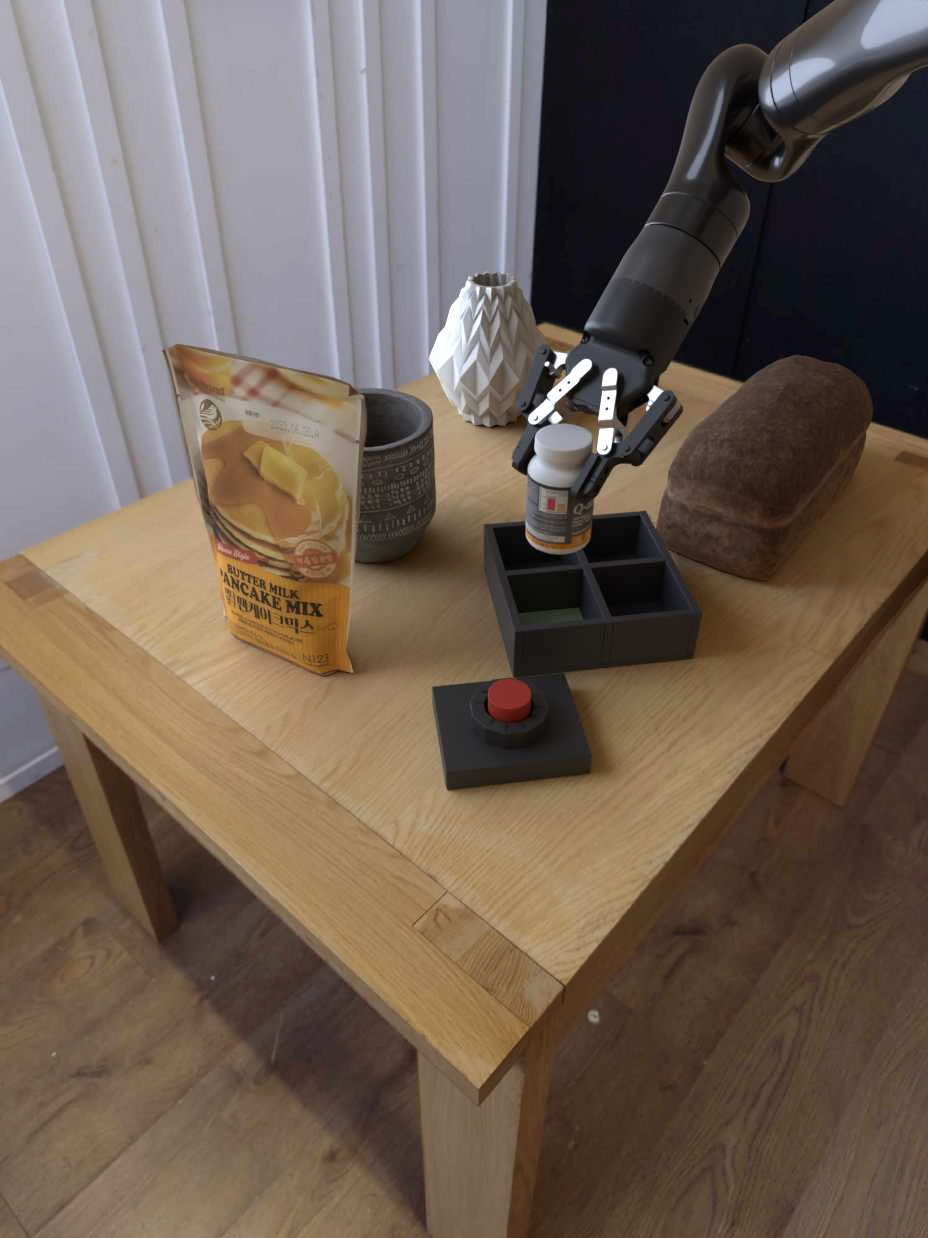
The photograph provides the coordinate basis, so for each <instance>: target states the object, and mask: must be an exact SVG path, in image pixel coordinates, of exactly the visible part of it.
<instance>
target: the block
mask: <svg viewBox="0 0 928 1238" xmlns="http://www.w3.org/2000/svg"><path fill="white" fill-rule="evenodd" d="M503 679H515V680H519V681H521V682H523V683H525V684H526V685H527V686H528V687H529V688H530V690H531V710H530V714H529V715H528V717H527V718H526V719H524V720H523V721H521V722H515V723H504V722H500V721H497V720H495V719H494V718H493V717H492V716H491V715H490V714H489V712H488V690H489V688H490V687H491V686H492V684H494V683H495V682H497V681H499V680H503ZM431 698H432V700H431V701H432V708H433V714H434V715H433V716H434V721H435V722H434V723H435V726H436V728H435V729H436V732H437V739H438V746H439V753H440V759H441V765H442V769H443V770H442V771H443V776H444V782H445V788H446V790H447V791H451V790H458V789H467V788H475V787H476V788H477V787H485V786H486V787H487V786H493V785H494V786H495V785H501V784H509V783H519V782H527V781H536V780H546V779H555V778H561V777H570V776H571V777H572V776H579V775H588V774H591V767H592V761H593V753H592V752H591V748H590V746H589V742H588V739H587V736H586V733H585V730H584V727H583V724H582V721H581V718H580V716H579V712H578V710H577V707H576V704H575V701H574V697H573V695H572V692H571V688H570V686H569V683H568V680H567V677H566V674H565V672H558V673H549V674H539V675H530V676H520V677H513V676H511V677H503V678H494V679H490V680H482V681H473V682H465V683H454V684H445V685H436V686H432V687H431Z"/></svg>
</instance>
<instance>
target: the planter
mask: <svg viewBox="0 0 928 1238" xmlns="http://www.w3.org/2000/svg"><path fill="white" fill-rule="evenodd" d="M354 389H355V390H356V391H357V392H359V393H360V394H362V395H363V396H364V398H365V405H366V412H367V433H366V439H365V444H364V450H363V461H362V475H361V495H360V518H359V522H358V527H357V542H356V554H355V563H361V564H380V563H385V562H389V561H394V560H396V559H398V558H401V557H403V556H405V555H406V554H408V553H409V552H410V551H411V550H413V548H414V547H415V545H416V544H417V543H418V542H419V540H420V539H421V537H422V536H423V535H424V534H425V532H426V530H427V529H428V527H429V525H430V524H431V522H432V521H433V518H434V516H435V514H436V509H437V488H436V487H437V485H436V475H435V474H436V458H435V457H436V455H435V438H434V437H435V435H434V415H433V411H432V409H431V407H430V406H429V405H428V404H427V403H426V402H424V401H423V400H422V399H421V398H419V397H417V396H414V395H412V394H409V393H406V392H403V391H399V390H394V389H387V388H375V387H367V388H365V387H364V388H354Z"/></svg>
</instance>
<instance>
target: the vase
mask: <svg viewBox="0 0 928 1238" xmlns="http://www.w3.org/2000/svg"><path fill="white" fill-rule="evenodd" d="M447 315H448V316H447V319H446V322H445V326H444V327H443V328H442V329H441V330H440V332H439V333H438V335H437V337H436V340H435V342H434V344H433V346H432V349H431V352H430V354H429V357H428V360H429V361H428V362H430V364H431V366H432V369H433V370H434V372H435V375H436V376H437V378H438V380H439V383H440V385H441V388H442V390H443V392H444V393H445V395H446V397H447V399H448V401H449V403H450V404H451V405H452V406H454V407H456V408H457V413H458V415H461V416H462V420H463V421H464V422H465V421H466V422H471V423H472V424H473V425H474V426H481V425H484V426H485V427H488V428H491V427H494V426H495V425H498V426H503V427H505V426H507V424H508V423H509V422H510V423H511V422H517V420H518V417H520V416H522V415H523V414H522V413H521V412H520V411H519V410H518V409H517V407H516V404H517V401H518V399H519V396H520V394H521V391H522V389H523V386H524V383H525V381H526V378H527V376H528V373H529V371H530V368H531V366H532V363H533V360H534V358H535V355H536V353H537V350H538V349H539V347H540V346H542V345H548V342H547V340H546V337H545V334H544V333H543V332H542V331H541V330H540V329H539V327H538V326H537V323H536V319H535V314H534V311H533V306H532V305H531V304H530V303H529V302H528V300H527V299H526V298H525V296H524V291H523V290H522V289H521V288H520V287H519V286H518V281H517V278H516V276H515V275H512V276H511V275H510V274H509V272H506V273H505V272H504V273H501V271H498V270H496V271H494V272H491V271H488V270H486V271H484V272H483V273H480V272H475V273H474V275H469V276H468V277H467V280H466V281H465V285H464V286H463V287H462V288H461V289H460V292H459V296H458V297H457V298H456V299H455V301H454V302H453V303H452V304H451V306H450V308H449V312H448V314H447Z"/></svg>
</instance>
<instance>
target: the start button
mask: <svg viewBox="0 0 928 1238" xmlns="http://www.w3.org/2000/svg"><path fill="white" fill-rule="evenodd" d="M530 710H531V690H530V688H529V687H528V686H527V685H526V684H525V683H523V682H521V681H519V680H515V679H503V680H499V681H497V682H495V683H494V684H492V686H491V687H490V688H489V690H488V712H489V714H490V715H491V716H492V717H493V718H494V719H495V720H497V721H500V722H504V723H515V722H521V721H523V720H524V719H526V718H527V717H528V715H529V714H530Z"/></svg>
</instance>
